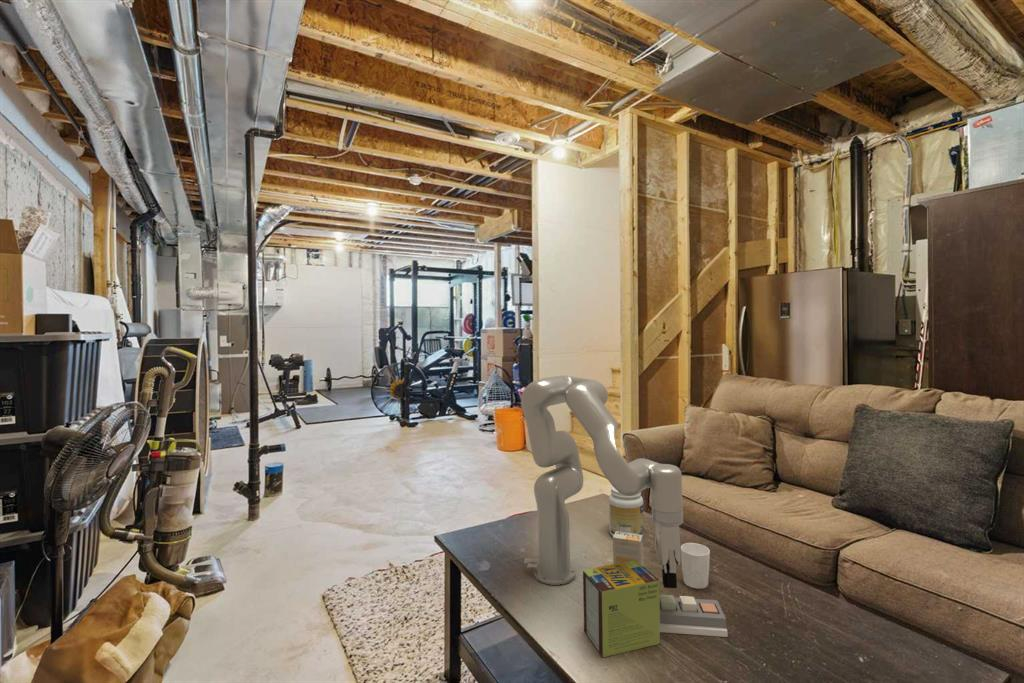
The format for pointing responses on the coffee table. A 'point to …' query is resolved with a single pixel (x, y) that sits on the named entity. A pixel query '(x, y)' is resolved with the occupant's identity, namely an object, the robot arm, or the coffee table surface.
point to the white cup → (695, 565)
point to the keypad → (694, 620)
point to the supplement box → (627, 547)
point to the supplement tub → (626, 513)
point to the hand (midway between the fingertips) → (669, 586)
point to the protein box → (621, 607)
